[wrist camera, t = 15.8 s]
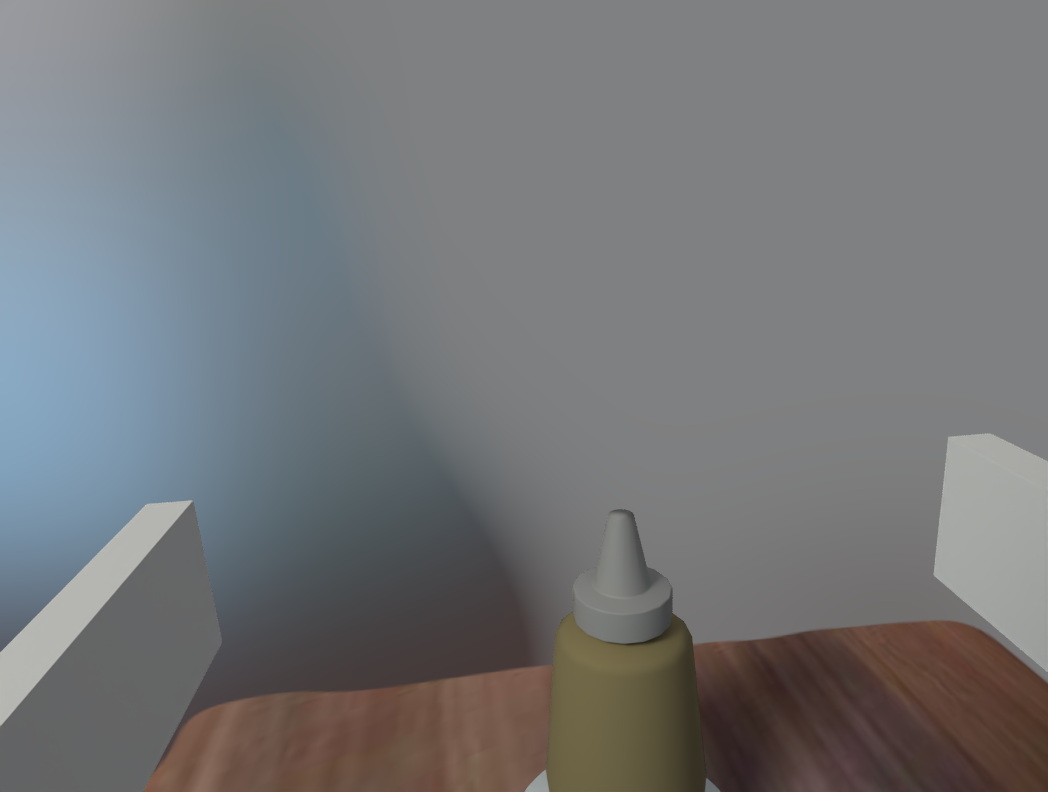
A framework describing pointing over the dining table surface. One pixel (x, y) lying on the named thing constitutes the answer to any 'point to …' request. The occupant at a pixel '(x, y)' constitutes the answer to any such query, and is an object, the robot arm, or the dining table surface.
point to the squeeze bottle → (624, 680)
